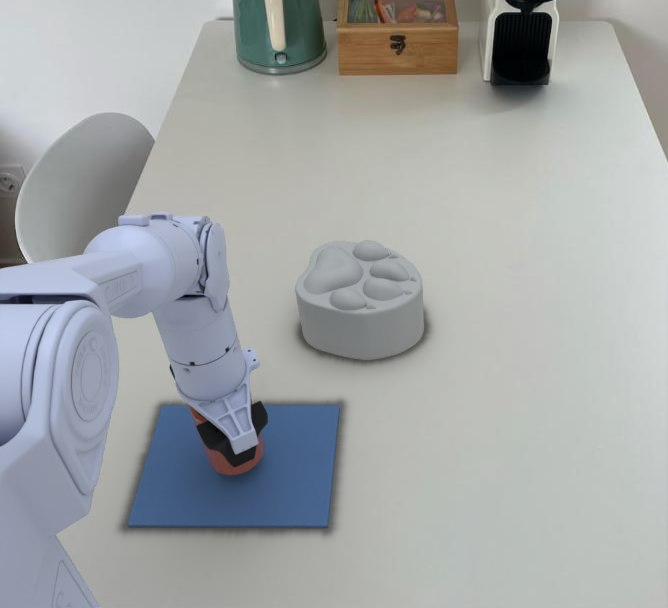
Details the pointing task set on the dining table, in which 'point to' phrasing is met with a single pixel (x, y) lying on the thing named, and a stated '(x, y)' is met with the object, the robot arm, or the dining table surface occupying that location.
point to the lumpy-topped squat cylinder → (360, 300)
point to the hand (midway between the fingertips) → (231, 436)
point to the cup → (218, 459)
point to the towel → (243, 489)
